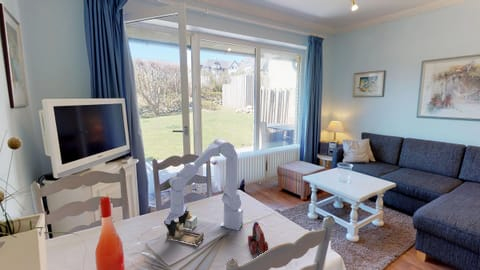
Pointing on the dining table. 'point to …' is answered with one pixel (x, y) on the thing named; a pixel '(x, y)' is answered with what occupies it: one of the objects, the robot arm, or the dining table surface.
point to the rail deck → (188, 237)
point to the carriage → (179, 230)
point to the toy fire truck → (257, 239)
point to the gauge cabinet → (191, 222)
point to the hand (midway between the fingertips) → (177, 231)
